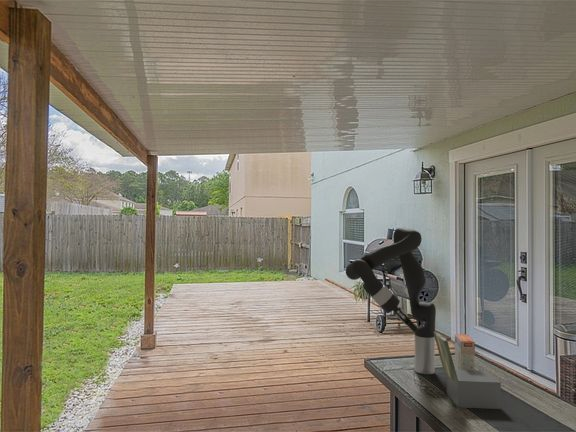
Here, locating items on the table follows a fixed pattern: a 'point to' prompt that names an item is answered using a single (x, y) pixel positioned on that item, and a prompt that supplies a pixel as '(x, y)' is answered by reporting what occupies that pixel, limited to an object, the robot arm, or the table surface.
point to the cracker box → (464, 352)
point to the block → (475, 389)
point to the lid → (445, 356)
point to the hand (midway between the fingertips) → (415, 329)
